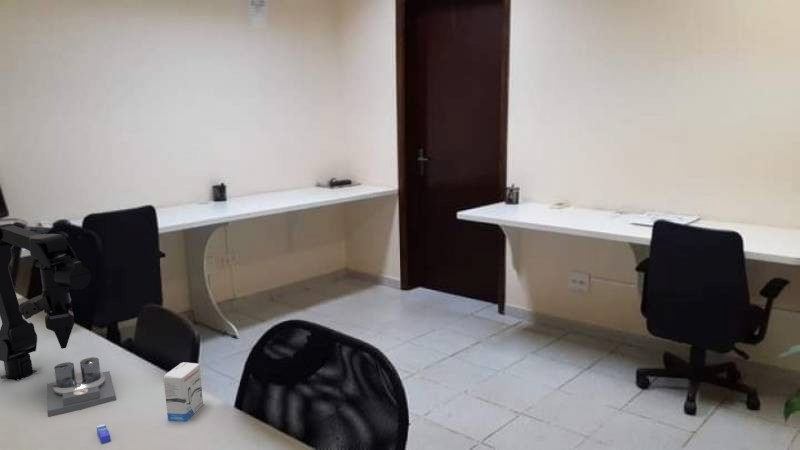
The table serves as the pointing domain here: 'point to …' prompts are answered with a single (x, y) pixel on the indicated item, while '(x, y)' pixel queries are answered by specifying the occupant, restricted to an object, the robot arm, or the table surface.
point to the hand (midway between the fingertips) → (63, 342)
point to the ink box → (183, 391)
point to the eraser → (103, 433)
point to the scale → (80, 397)
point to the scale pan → (79, 384)
